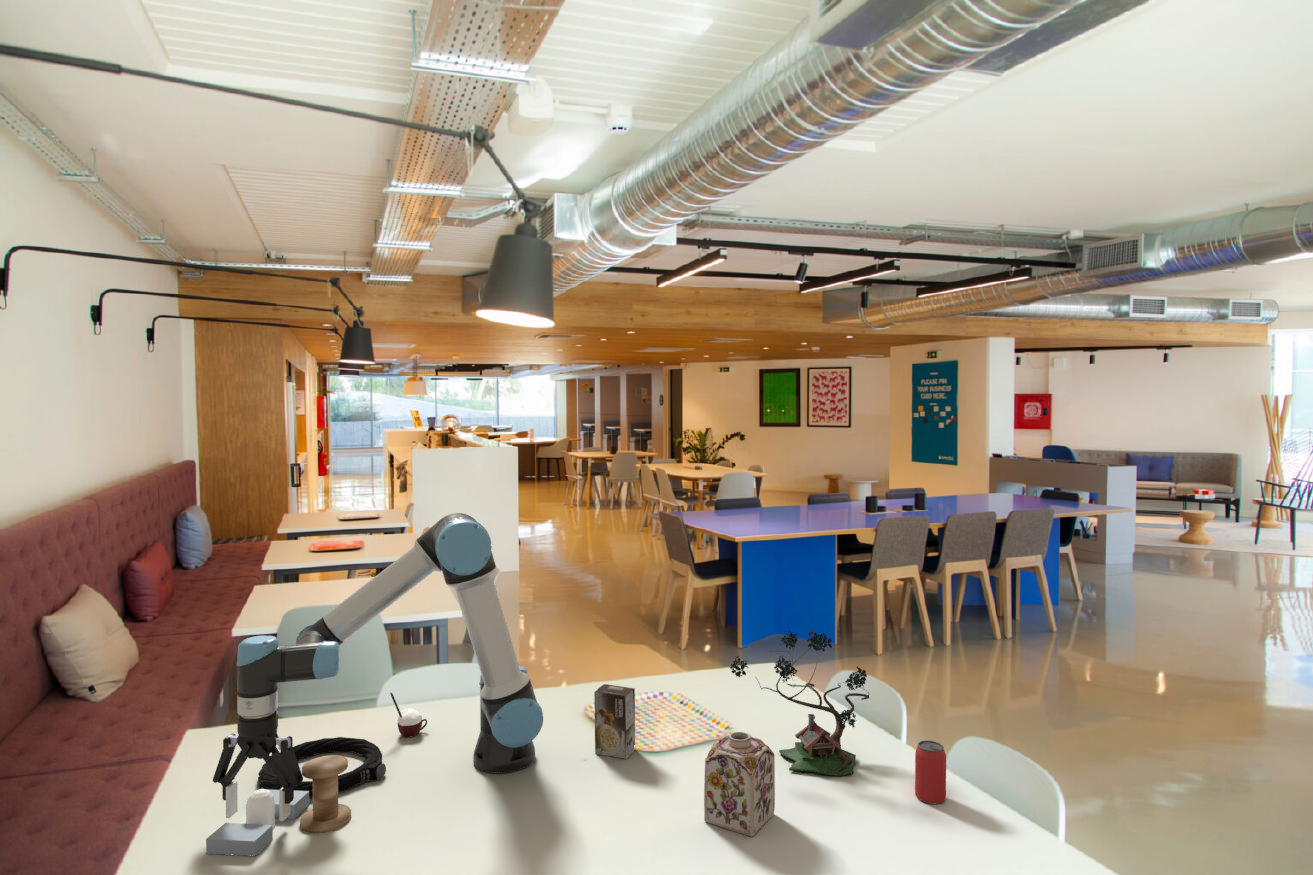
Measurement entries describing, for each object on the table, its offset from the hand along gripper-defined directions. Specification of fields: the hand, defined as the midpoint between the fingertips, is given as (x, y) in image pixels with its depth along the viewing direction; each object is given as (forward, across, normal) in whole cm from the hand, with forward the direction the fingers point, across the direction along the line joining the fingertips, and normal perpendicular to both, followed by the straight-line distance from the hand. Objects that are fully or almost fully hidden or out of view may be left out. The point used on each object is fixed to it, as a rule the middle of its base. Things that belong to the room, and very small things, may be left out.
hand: (258, 816), depth 160 cm
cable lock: (+3, +1, +25) cm, 25 cm away
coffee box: (+2, +69, +42) cm, 81 cm away
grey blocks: (+2, 0, 0) cm, 2 cm away
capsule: (+3, 0, 0) cm, 3 cm away
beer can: (+1, +143, +25) cm, 145 cm away
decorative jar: (+2, +100, +12) cm, 101 cm away
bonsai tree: (+1, +116, +44) cm, 124 cm away
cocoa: (+2, +12, +48) cm, 50 cm away
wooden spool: (+2, +12, +4) cm, 13 cm away
